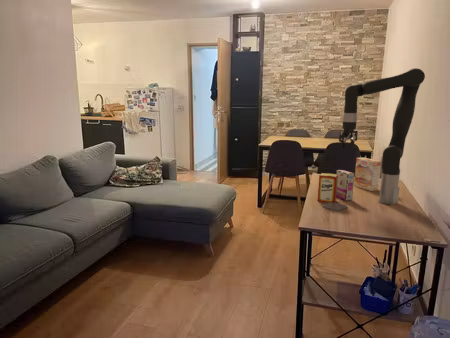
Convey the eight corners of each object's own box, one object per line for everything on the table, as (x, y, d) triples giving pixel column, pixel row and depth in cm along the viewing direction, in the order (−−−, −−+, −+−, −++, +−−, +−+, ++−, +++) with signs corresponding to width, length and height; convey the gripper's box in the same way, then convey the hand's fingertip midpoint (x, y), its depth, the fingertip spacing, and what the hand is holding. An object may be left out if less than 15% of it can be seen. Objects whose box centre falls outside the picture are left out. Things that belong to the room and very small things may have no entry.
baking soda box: (317, 201, 205) (319, 174, 202) (319, 198, 211) (321, 172, 208) (334, 203, 201) (336, 176, 198) (336, 200, 207) (338, 174, 204)
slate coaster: (347, 207, 195) (347, 205, 195) (339, 211, 188) (339, 209, 188) (330, 203, 202) (330, 201, 201) (322, 207, 195) (322, 205, 194)
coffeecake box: (353, 185, 241) (355, 157, 237) (361, 184, 244) (363, 157, 240) (370, 191, 228) (373, 161, 224) (378, 190, 231) (381, 160, 227)
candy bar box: (352, 200, 208) (355, 173, 204) (345, 201, 206) (347, 173, 203) (341, 195, 218) (343, 169, 215) (334, 195, 216) (336, 169, 213)
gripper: (347, 121, 195) (345, 150, 199) (362, 120, 204) (360, 148, 207) (336, 121, 201) (334, 149, 205) (351, 120, 209) (349, 147, 213)
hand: (347, 148), depth 206 cm, fingers open, 8 cm apart
